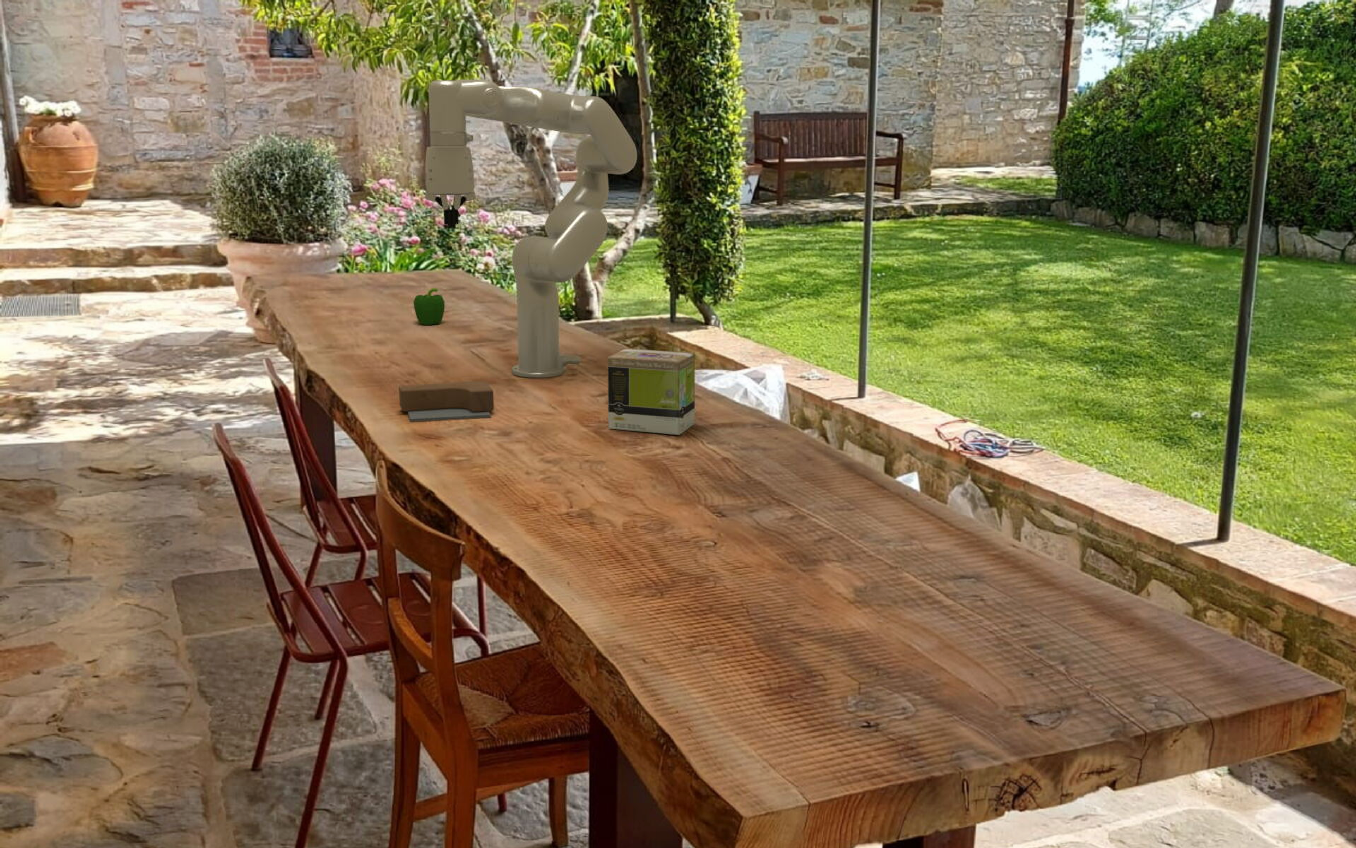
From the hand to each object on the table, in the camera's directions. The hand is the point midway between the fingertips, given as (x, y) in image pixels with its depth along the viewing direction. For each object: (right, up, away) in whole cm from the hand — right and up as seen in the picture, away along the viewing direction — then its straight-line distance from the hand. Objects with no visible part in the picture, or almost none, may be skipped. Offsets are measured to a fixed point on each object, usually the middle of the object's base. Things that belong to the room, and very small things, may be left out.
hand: (451, 227), depth 277 cm
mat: (+1, -40, -13) cm, 42 cm away
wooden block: (+10, -36, -11) cm, 39 cm away
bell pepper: (-20, -15, +82) cm, 86 cm away
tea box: (+44, -43, -22) cm, 65 cm away
